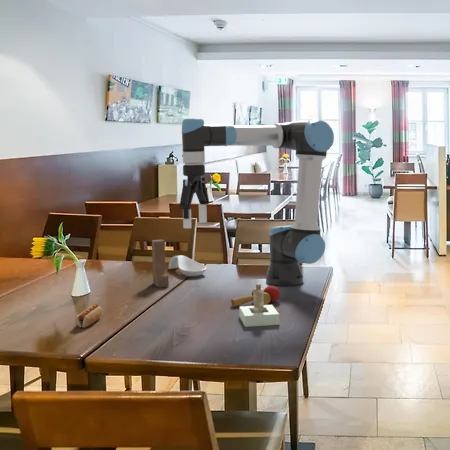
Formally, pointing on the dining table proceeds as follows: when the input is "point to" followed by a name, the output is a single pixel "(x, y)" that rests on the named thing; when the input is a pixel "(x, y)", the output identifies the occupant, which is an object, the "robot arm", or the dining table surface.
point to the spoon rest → (187, 266)
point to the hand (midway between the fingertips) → (195, 225)
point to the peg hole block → (258, 316)
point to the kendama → (269, 296)
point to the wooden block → (159, 264)
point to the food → (89, 316)
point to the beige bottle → (258, 299)
